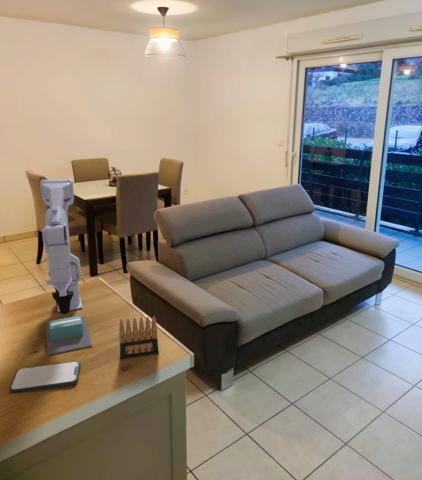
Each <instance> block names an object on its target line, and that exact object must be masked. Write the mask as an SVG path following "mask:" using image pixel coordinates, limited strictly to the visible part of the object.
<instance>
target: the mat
mask: <svg viewBox="0 0 422 480" xmlns="http://www.w3.org/2000/svg"><path fill="white" fill-rule="evenodd" d="M80 316H81V315H80ZM85 316H86V315H82V316H81V320H82V326H83V335H80V336H75V337H70V338H65V339H60V340H55V341H52V340H51V332H50V322H49V321H48V322H45V338H46V355H47V356H53V355H57V354H62V353H63V354H64V353H67V352H72V351H77V350H81V349H82V350H83V349H86V348H90V347H92V341H91V338H90V332H89V328H88V325H87V320H86V317H85Z"/></svg>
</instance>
